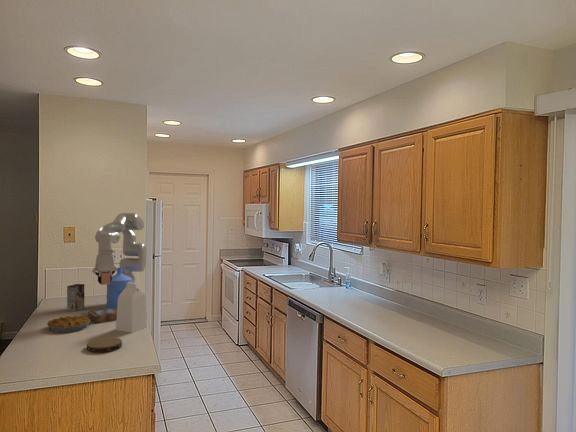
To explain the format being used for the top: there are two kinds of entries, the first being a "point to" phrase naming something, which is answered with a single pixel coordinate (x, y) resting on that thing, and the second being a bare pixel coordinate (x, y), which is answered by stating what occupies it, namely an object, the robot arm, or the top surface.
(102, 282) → the terracotta block
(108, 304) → the water jug
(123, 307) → the milk
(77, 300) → the coffee box
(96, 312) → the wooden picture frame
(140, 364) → the top surface
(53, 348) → the top surface
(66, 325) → the pie
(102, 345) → the brown round disc
